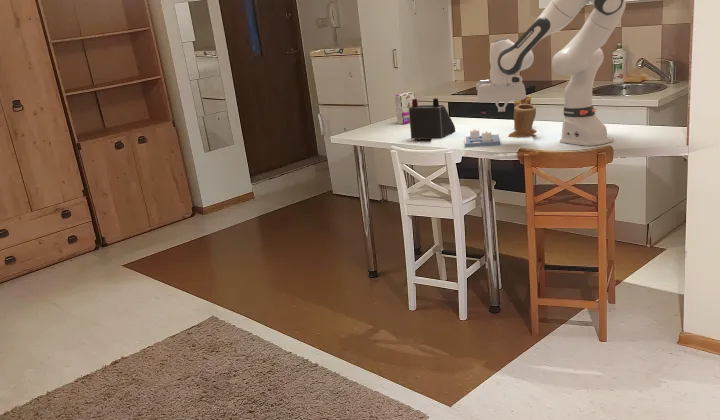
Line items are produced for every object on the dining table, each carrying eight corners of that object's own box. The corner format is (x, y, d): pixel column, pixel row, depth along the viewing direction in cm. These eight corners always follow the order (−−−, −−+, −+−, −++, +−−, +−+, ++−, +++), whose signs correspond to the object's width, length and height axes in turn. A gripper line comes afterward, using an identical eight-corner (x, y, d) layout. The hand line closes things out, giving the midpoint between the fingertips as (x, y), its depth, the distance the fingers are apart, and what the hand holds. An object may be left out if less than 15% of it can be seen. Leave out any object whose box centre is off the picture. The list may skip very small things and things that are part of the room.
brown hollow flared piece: (530, 141, 291) (529, 107, 287) (505, 140, 298) (504, 107, 294) (543, 134, 302) (542, 101, 298) (519, 133, 309) (518, 101, 305)
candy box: (521, 130, 316) (520, 98, 312) (514, 129, 319) (513, 98, 315) (532, 126, 322) (531, 95, 317) (524, 126, 325) (523, 95, 320)
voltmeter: (455, 134, 323) (453, 93, 317) (442, 141, 309) (439, 99, 304) (425, 134, 331) (422, 94, 325) (411, 141, 318) (408, 99, 312)
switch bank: (498, 140, 298) (498, 133, 297) (500, 148, 283) (500, 141, 282) (465, 143, 300) (464, 136, 299) (465, 150, 285) (464, 143, 284)
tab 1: (479, 139, 296) (479, 128, 295) (479, 140, 293) (479, 129, 292) (470, 140, 297) (470, 128, 296) (470, 141, 294) (470, 130, 293)
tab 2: (491, 142, 288) (491, 130, 286) (491, 143, 285) (491, 131, 284) (482, 142, 289) (481, 131, 287) (482, 144, 286) (481, 132, 284)
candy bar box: (410, 120, 376) (408, 91, 371) (417, 121, 372) (414, 92, 367) (396, 124, 369) (394, 94, 364) (403, 124, 365) (400, 95, 360)
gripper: (475, 81, 277) (477, 114, 281) (526, 77, 273) (526, 111, 277) (475, 79, 282) (476, 111, 287) (524, 76, 279) (525, 108, 283)
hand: (501, 111), depth 282 cm, fingers closed
